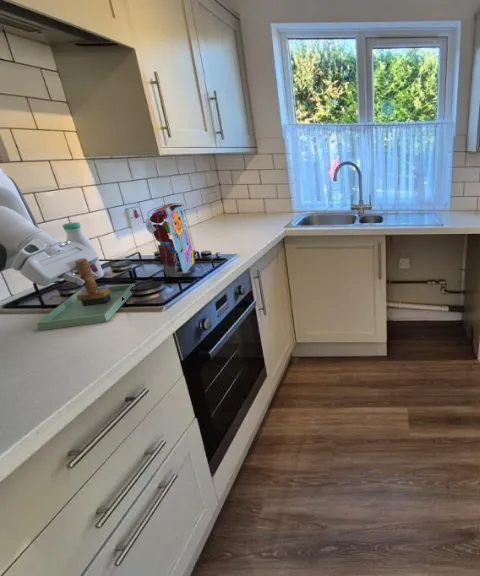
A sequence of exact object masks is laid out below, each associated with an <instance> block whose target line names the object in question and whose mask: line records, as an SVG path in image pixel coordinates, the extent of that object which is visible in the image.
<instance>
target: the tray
mask: <svg viewBox="0 0 480 576" xmlns="http://www.w3.org/2000/svg"><path fill="white" fill-rule="evenodd" d="M134 286H136V283H126V284H117V285H109V286H99V287H98V286H97V287H98V289H100V288H110V291H111V293H109V294H110V297H111V299H110V300H109V301H108V302H107V303H104V304H96V305H88V306H83V304H82V302H81V300H79V301H78V298H77V295H78V294H79V293H81V292H82V291H83V290H86V288H82V289H81V288H80V289H78V291H76V292H74V294H72V295H71V296H69V297H68V298H66V299H65V300H64V301H63V302H62V303H60V304H59V305H58V306H56V307H55V308H54V309H53V310H51V311H50V312H49V313H48V314H46V315H45V316H43V318H41V319H40V320H38V321H37V322H36V326H37V328H38V331H44V330H45V331H46V330H53V329H60V328H68V327H74V326H83V325H84V326H85V325H91V324H98V323H106V322H108V321H109V320H110V319H111V318H112V317H113V316H114V315H115V314H116V312H118V310H119V309H120V308H121V307H122V306H123V305H124V304H125V303H126V301H127V300H129V299H130V297H131V296H132V295H133V294H134V293H131V292H130V289H131V288H132V287H134ZM122 297H123V298H124V300H123V301H122Z"/></svg>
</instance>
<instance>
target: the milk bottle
mask: <svg viewBox="0 0 480 576" xmlns="http://www.w3.org/2000/svg"><path fill="white" fill-rule="evenodd" d="M62 228H63V230H64V232H65V233H66V240H65V242H66V241H69V242H76V243H79V244H81V245H83V246H85V247H87V248H89V249H90V250H92V251H94V252H95V253H97V251H96V250H95V249H96V248H95V246H94V244H93V243H92V241H91V240H90V239H89V238H88V237H87V236H86V235H85V233H84V231H82V225H81V223H80V222H78V221H77V222H75V221H74V222H68V223H64V224H63V225H62ZM90 268H91V270H92V272H94V273H95V274H97V277H96V278H95V281H97V280H99V279H101V278H103V277H104V271H103V269H102V266H101V263H100V259H99V258H98V259H97V261H96V262H95V263H94V264H92V265H90ZM74 276H77V277H81V276H80V274H79V271H77V272H75V273H74Z"/></svg>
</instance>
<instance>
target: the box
mask: <svg viewBox="0 0 480 576" xmlns="http://www.w3.org/2000/svg"><path fill="white" fill-rule="evenodd" d="M184 208H185V206H184V203H182V202H181V203H180V202H177V203H175V202H173V203H172V202H171V203H166V204H163V205H160V206H158V207H154V208H152V209H150V210H148V212H147V214H146V215H147V218H146V219H145V228H146V230H147V231H148V233H149V234H151V235H152V239H153V243H154V245H155V248H156V251H157V253H158V258H159V262H160V263H161V264H160V265H161V269H162V271H163V275H164V276H165V277H166V278H167V281H170V278H172V277H175V276H176V275H177V273H178V274H179V271H181V274H182V275H184V274H185V273H187V274H186V276H185V277H184V278H182V279H178V280H176V282H179V281H182V280H184V279H186V277H187V276H189V275H190V274H191V272H192V271H194V270H195V269H196V268H197V266H194V264H195V263H196V264H197V260H198V258H197V257H195V255H197V253H196V251H195V246H193V245H194V241H193V240H191V239H192V235H191V233H189V232H191V231H190V229H188V228H190V226H189V221H188V219H187V218H188V217H187V215H186V214H185V213H186V210H185V209H184ZM167 210H168V211H167ZM152 211H153V212H152ZM149 215H151V216H149ZM166 220H167V221H166ZM170 234H171V235H172V238H173V239H171V236H170ZM156 241H157V242H158V243H159V244H156ZM178 261H179V265H178ZM177 265H178V266H177ZM193 266H194V267H193ZM179 267H180V269H178V268H179ZM191 267H193V268H192V269H191ZM190 269H191V270H190Z"/></svg>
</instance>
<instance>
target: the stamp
mask: <svg viewBox="0 0 480 576" xmlns="http://www.w3.org/2000/svg"><path fill="white" fill-rule="evenodd" d="M75 264H76V266H77V269H78V271H79V274H80V276H81V277H83V278H84V279H86V280H87V282H86V283H85V284H84V285H83V286H84V289H86V290H83V291H82V292H81V293H79V294H78V295H77V298H78V301H79V300H81V302H82V304H83V306H88V305H96V304H104V303H107V302H108V301H109V300H110V299H111V297H110V294H109V293H111V291H110V288H100V289H98V284H97V282H96V281H97V280H95V279H94V276H93V274H92V271H91V269H90V266H89V264H88V261H87V259H86V258H82V259H77V260H75ZM87 304H88V305H87Z"/></svg>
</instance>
